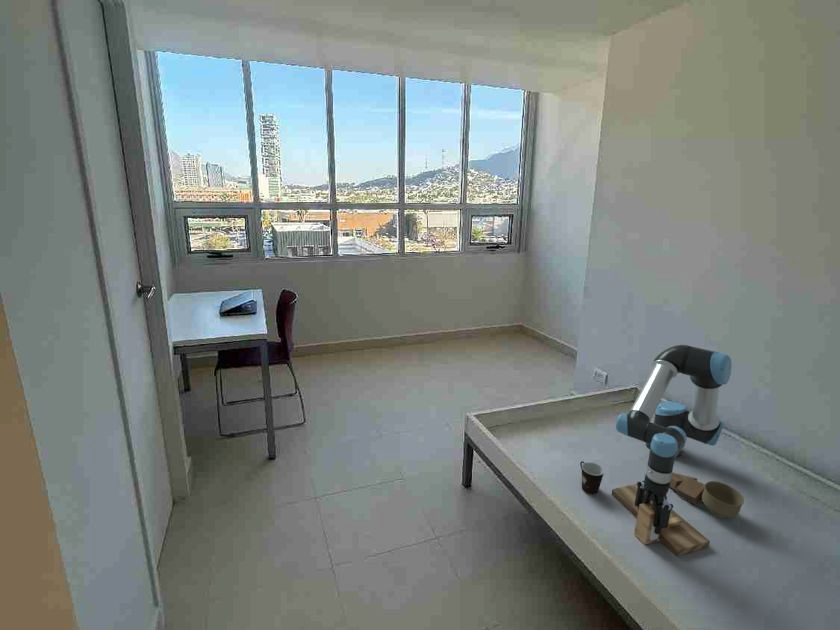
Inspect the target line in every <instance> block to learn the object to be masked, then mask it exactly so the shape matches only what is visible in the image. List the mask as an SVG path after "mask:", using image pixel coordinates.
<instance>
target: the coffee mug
mask: <svg viewBox="0 0 840 630" xmlns="http://www.w3.org/2000/svg"><path fill="white" fill-rule="evenodd" d="M579 466H580V469H581V489H582V491H583V492H584V493H586V494H588V495H596V494H598V493H599V490H600V486H601V484H602V480H603V477H604V475H605V469H604V468H603V467H602V466H601V465H600V464H598V463H596V462H591V461H590V462H588V461H587V462H584V460H583V461H580V465H579Z"/></svg>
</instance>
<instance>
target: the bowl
mask: <svg viewBox="0 0 840 630" xmlns="http://www.w3.org/2000/svg"><path fill="white" fill-rule="evenodd" d="M702 501H703V503H704V506H705V507H706V508H707V509H708V510H709V512H710V513H712V514H713V515H714V516H717V517H720V518H723V517H724V518H732V517H735V516H737V515H738V514H739V513H740V512H741V511H740V510H741V507H742V506H743V505H744V503H745V498H744V496H743V495H742V494H741V493H740V491H739V490H737V489H736V488H734V487H732V486H730V485H729V484H726V483H724V482H720V481H714V480H710V481H707V482H706V483H705V489H704V491H703V494H702Z"/></svg>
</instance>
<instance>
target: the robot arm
mask: <svg viewBox="0 0 840 630" xmlns="http://www.w3.org/2000/svg"><path fill="white" fill-rule="evenodd" d="M732 364H733V363H732V359H731V357H730V356H729V355H728V354H725V353H722V352H719V351H714V350H710V349H705V348H700V347H694V346H691V345H688V344H678V345H674V346H671V347H669V348H666V349H664V350H663V351H661V352H660V353H659V354H658V355H657V356H655V358H654V360H653V362H652V363H651V371H650V373H649V374H648V376H647V378H646V380H645V382H644V384H643V386H642V388H641V390H640V391H639V393H638V395H637V397H636V399H635V401H634V403H633V404H632V406H631V407H630V410H629V412H628V413H626V412H625V413H624V412H621V413H620V414H619V415H618V416H617V419H616V422H615V429H616V431H617V432H618V433H621V434H622V435H624V436H627V437H630V438H632V439H635V440H638V441H641V442H644V443H645V445H646V447H647V448H648V449H649V453H648V460H647V464H646V465H647V466H646V471H645V474H644V475H645V476H644V480H641V481H637V483H636V484H637V486H638V489H637V494H636V499H635V506H636V507H638V510H639V505H640V504H643V503H644V504H646V503H650V501H652V502H653V507H654V513H655V515H654V520H655V523H654V524H652V529H651V534H650V540H651V541H652V540H655V539H657V538H658V534H660V532H661V529H664V528H667V527H668V523H669V518H670V512H671V509H672V510H673V508H674V504H672V503H669V501H668V499H667V494H668V493H669V489H670V481H671V476H672V472H673V471H674V470H673V469H674V466H675V461H676V459H677V457H679V456H681V455H682V451H683V448H685V444H686V443H687V440H688V439H692V440H694V441H697V442H699V443H702V444H704V445H709V446H716V445H717V443H718V441H719V439H720V436H721V434H722V431H723V428H724V426H725V422H724V421H722V420H720V417H719V415H718V414H717V412H718V411H717V408H718V400H719V392H720V388H721V387H722V386H723V385H727V384H728V382H729V381H730V378H731V374H732V368H733V366H732ZM678 374H682V375H686V376H689V379H690V381H691V383H692V384H693V394H692V395H693V396H692V410H690V411H689V410H687V407H686V405H684V404H683V403H680V402H677V401H662V402H661V400H662V399H663V396H664V394H665V392H666V391H667V389H668V387H669V385H670V383H671V381H672V379H673V378H675V377H677V375H678ZM653 417H654V418H653ZM652 418H653V419H654V420H653V422H651V420H652ZM687 438H688V439H687ZM645 491H646V492H645ZM644 494H645V495H644ZM663 503H664V505H663ZM662 507H663V509H662Z"/></svg>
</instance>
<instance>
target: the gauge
mask: <svg viewBox="0 0 840 630" xmlns="http://www.w3.org/2000/svg"><path fill="white" fill-rule="evenodd" d="M654 515H655V513H654V507H653V502H652V501H651V502H650V503H646V504H644V503H643V504H640V505H639V510H638V516H637V518H636V523H635V527H634V533H633V535H634V536H635V537H636V538H638V540H639V541H640V542H641V543H642V544H643V545H644V546H646V545H648V544H649V545H650V544H652V543H655V542H659V541H660V540H659V535H660V534H658V538H657V539H655V540H652V541H651V540H650V534H651V529H652V524H654V523H655V520H654ZM679 524H682V520H681V519H680V518H679V517H674V518H671V519H669V523H668V527H672V526H676V525H679ZM668 527H667V528H668ZM664 529H665V528H664Z"/></svg>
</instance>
